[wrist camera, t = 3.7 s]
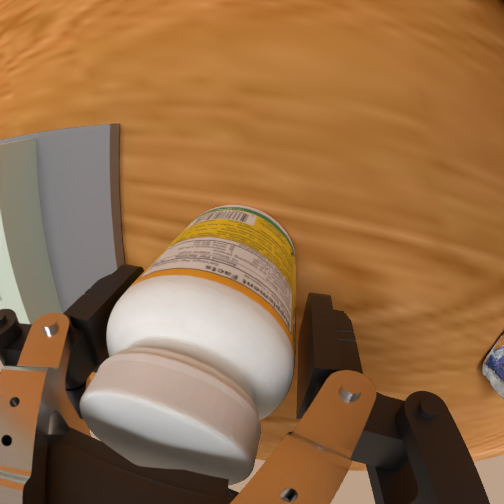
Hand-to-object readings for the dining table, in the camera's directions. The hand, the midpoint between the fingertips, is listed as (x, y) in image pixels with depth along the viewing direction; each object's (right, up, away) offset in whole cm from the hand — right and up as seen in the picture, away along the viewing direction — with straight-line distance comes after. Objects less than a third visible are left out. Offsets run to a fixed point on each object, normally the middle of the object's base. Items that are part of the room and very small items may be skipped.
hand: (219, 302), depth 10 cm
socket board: (-14, +3, +5) cm, 15 cm away
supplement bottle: (0, +2, +4) cm, 4 cm away
